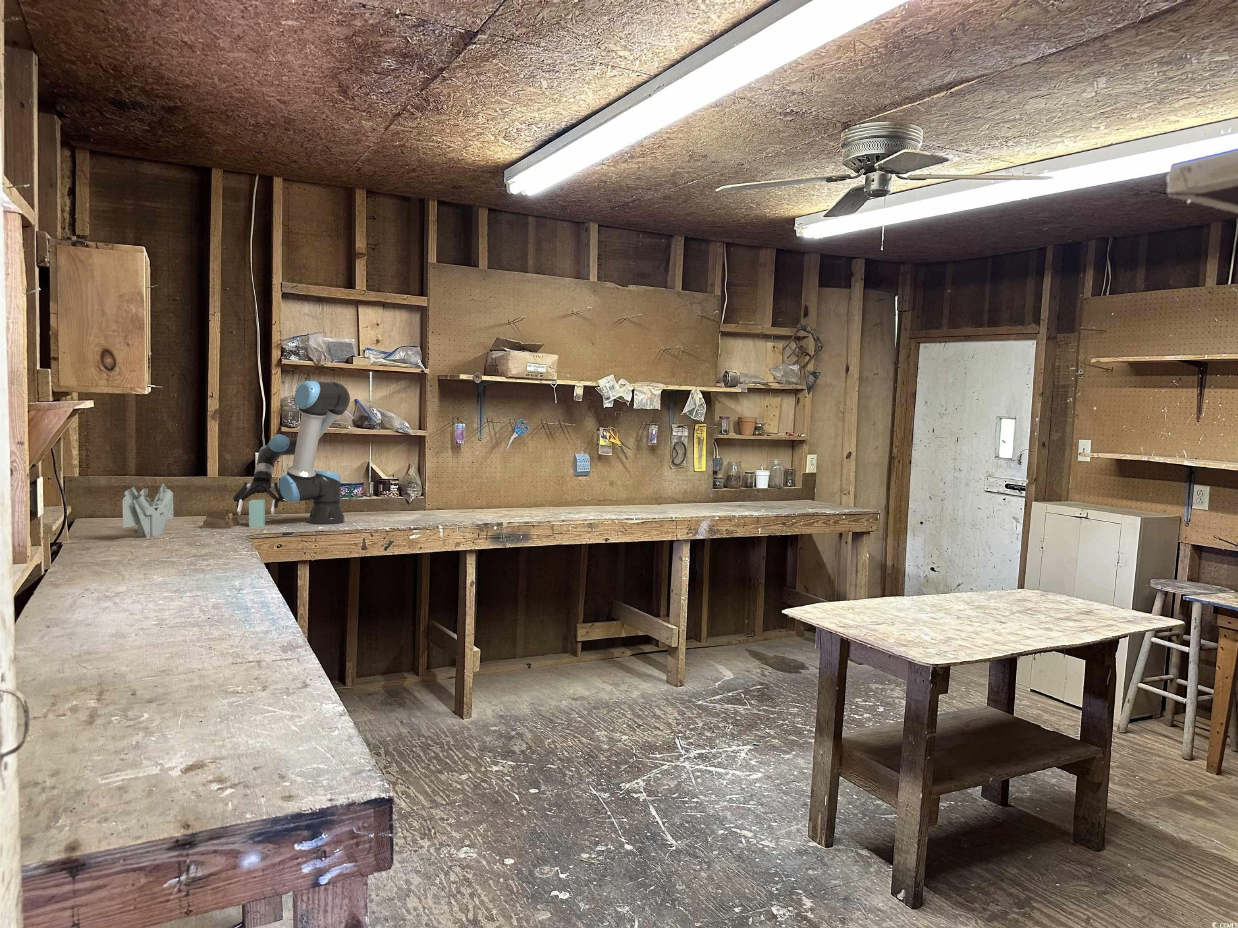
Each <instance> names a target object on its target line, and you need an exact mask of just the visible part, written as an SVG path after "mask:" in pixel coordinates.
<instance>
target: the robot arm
mask: <svg viewBox="0 0 1238 928" xmlns="http://www.w3.org/2000/svg"><path fill="white" fill-rule="evenodd" d="M294 400H295V405H296V406H297V408H298V412H299V413H300V414H301V417H300V421H299V428H298V433H297V438H288V436H286V435H283V434H280V433H278V434H275V435H274V436H273V437H272V438H271V439H270V440H269V442H268V443H267V444H266V445H264V446H261V447H260V449H259V451H258V453H257V459H256V465H255V469H254V473H253V478H252V482H250V483H248V482H247V481H245V482H244V483H243V485H242V487H241V488H240V489H239V490H238V491H237V492H236V493H235V494H234V495H233V496H232V499H233V502H235V503H236V504H235V507H236V509H237V511H236V512H237V515H238V516H241V512H242V510H243V509H242V508H243V504H244V502H243V501H245V500H246V499H248V498H249V497H251V496H252V495H254V494H264V493H266V494H267V495H268V496H270V498H271V499H272V504H271V508H270V513H271V515H272V516H274V515H275V510H276V509H278V506H279V503H280V502H281V503H283V502H284V500H286V501H287V502H295V503H298V502H304V501H305V502H306V501H312V507H311V511H310V513H309V516H308V523H309V522H310V523H309V524H313V523H314V524H317V525H331V524H332V525H333V524H334V525H335V524H341V523H344V522H345V514H344V512H343V509H342V506H341V482H342V481H341V475H340V474H339V472H336V471H335V472H334V471H328V470H327V471H326V470H317V469H316V470H315V469H314V466H315V460H316V455H317V452H318V451H317V449H318V445H319V440H320V438H322V436H323V435H324V434H325V432H326V431H327V430H328V428H330V426H331V425H332V424H333V423H334V422H335V421H336V419H337V418H338V417H339V416H343V414H345V412H346V411H347V409H348V408H349V405H350V403H351V396H350V392H349V390H348V388H346V387H345V385H344V384H342V383H339V382H336V381H335V382H334V381H319V380H318V381H317V380H310V381H309V380H308V381H303V382H301V383H300V384H298V386H297V388H296V391H295V392H294ZM281 456H293V461H292V465H291V466H290V467H288V468H287V472H286V474H285V475H284V474H283V475H282V476H281V477H280V478H279V480H278V481H279V482H274V483H272V481H273V474H274V469H275V465H276V462H277V461H278V460H279V458H281ZM278 483H279V484H278ZM271 488H272V489H274V491H275V493H276V494H275V493H274V492H273V491H272V490H271ZM314 524H313V525H314Z"/></svg>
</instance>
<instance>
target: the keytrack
mask: <svg viewBox="0 0 1238 928" xmlns="http://www.w3.org/2000/svg"><path fill="white" fill-rule="evenodd" d="M239 524H240V520H239V515H238V516H237V515H235V516H233V513H227V510H208V511H206V513H205V520H203V523H202V525H201V529H202V528H211V529H232V528H234V527H235V526H238V525H239ZM233 526H234V527H233Z"/></svg>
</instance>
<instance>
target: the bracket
mask: <svg viewBox="0 0 1238 928" xmlns="http://www.w3.org/2000/svg"><path fill="white" fill-rule="evenodd" d="M148 489H149V488H146V487H145V488H142V489H141V491H140V492H139V493H138V492H137V490H136V489H135V487H134V486H133V487H132V488H128V489H126V491H124V495H125V496H124V497H123V499H122V504H121V505H122V528H123V529H124V528H129V527H133V526H134V527H136V526H137V537H141V536H145V538H146V537H147V538H154V537H153V536H155V537H159V535H160V534H163V533H164V531H165V526H166V524H167V521H169V520H173V519H174V492H173V491H171V489H170V488H169V489H168V488H167V485H165V483H162V485H161V487H160V489H159V491H158V493H157V495H156V496H155V498H154V499H153V502H151V499H150V498H149V497H146V496H147V495H148V494H149V491H148ZM150 536H151V537H150ZM160 536H161V535H160Z"/></svg>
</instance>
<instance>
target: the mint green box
mask: <svg viewBox="0 0 1238 928" xmlns="http://www.w3.org/2000/svg"><path fill="white" fill-rule="evenodd" d="M265 525H266V499H251V500H249V501H248V527H249V528H262V527H264V526H265ZM261 526H262V527H261Z"/></svg>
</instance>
